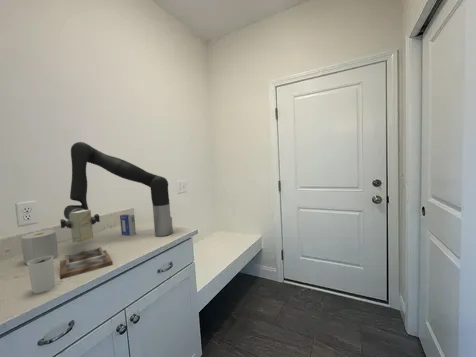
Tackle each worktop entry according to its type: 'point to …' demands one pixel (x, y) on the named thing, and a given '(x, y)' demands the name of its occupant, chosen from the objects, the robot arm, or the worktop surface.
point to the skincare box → (81, 225)
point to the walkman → (127, 225)
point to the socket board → (84, 262)
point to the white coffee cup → (41, 274)
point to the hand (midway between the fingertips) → (82, 223)
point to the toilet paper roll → (39, 245)
